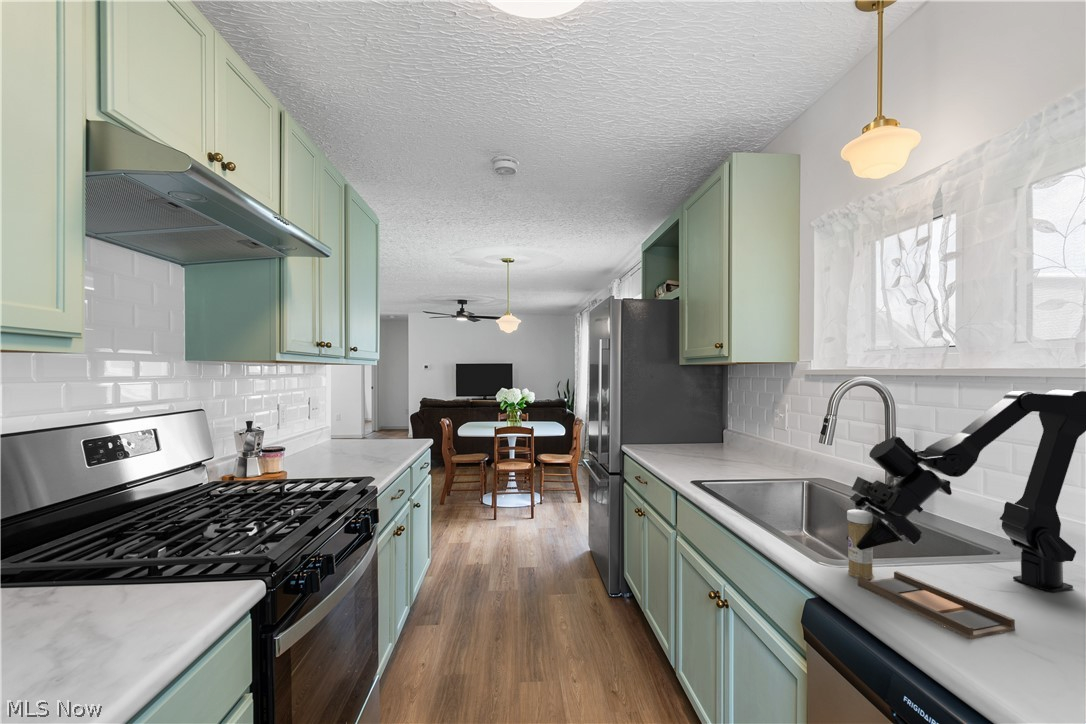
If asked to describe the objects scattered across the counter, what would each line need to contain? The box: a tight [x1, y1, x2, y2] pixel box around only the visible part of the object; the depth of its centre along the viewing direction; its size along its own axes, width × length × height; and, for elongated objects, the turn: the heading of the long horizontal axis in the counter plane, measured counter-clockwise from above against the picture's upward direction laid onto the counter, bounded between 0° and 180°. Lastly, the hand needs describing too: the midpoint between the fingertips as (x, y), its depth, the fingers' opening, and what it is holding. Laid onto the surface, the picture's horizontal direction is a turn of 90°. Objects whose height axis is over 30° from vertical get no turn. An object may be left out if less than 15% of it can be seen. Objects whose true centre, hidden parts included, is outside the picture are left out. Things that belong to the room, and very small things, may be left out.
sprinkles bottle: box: [846, 508, 874, 580], centre depth 107 cm, size 5×5×14 cm
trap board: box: [857, 570, 1016, 640], centre depth 93 cm, size 10×21×2 cm, turn 15°
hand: (853, 544), depth 107 cm, fingers closed on sprinkles bottle, 4 cm apart
